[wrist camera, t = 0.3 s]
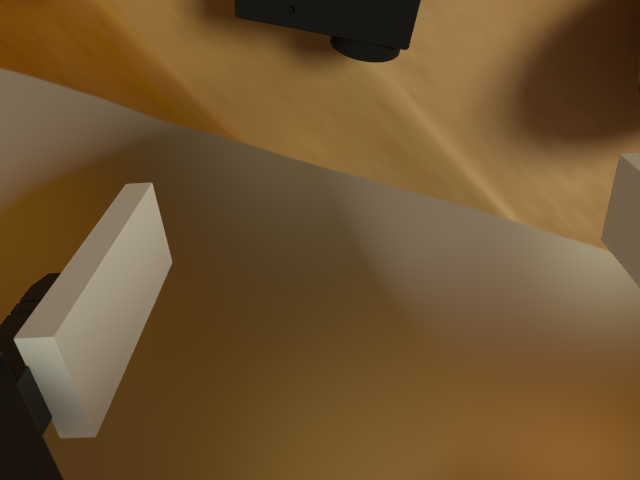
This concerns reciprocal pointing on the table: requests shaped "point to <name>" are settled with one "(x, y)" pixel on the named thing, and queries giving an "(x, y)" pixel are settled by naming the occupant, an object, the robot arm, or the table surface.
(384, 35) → the black rectangular block
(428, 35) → the table surface
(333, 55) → the table surface
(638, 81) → the decorative egg
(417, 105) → the table surface
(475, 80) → the table surface
